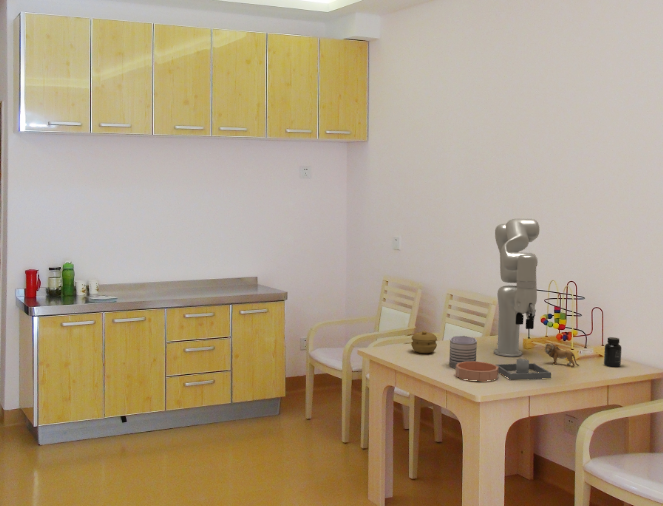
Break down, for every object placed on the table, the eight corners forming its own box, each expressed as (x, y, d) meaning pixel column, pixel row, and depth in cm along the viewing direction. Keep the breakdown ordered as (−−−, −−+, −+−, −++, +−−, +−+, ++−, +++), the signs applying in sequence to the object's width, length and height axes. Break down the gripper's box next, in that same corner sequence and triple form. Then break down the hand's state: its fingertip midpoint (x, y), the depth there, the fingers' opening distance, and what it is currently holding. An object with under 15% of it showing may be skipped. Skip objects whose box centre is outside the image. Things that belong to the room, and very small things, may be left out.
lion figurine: (543, 364, 325) (544, 344, 324) (545, 361, 330) (546, 341, 329) (578, 368, 319) (579, 347, 319) (579, 365, 324) (580, 345, 323)
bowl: (450, 371, 310) (450, 361, 309) (488, 370, 313) (488, 360, 312) (464, 382, 293) (464, 372, 293) (504, 381, 296) (504, 370, 296)
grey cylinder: (514, 373, 309) (514, 358, 309) (525, 372, 310) (525, 358, 310) (519, 376, 305) (519, 361, 304) (530, 375, 305) (531, 361, 305)
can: (479, 365, 322) (480, 338, 320) (470, 371, 312) (471, 342, 311) (454, 361, 327) (455, 334, 326) (444, 367, 318) (445, 339, 317)
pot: (441, 352, 345) (442, 331, 344) (426, 356, 336) (427, 334, 335) (421, 348, 353) (421, 327, 352) (405, 352, 344) (406, 330, 343)
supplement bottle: (619, 364, 327) (621, 337, 326) (621, 368, 321) (622, 340, 320) (603, 363, 329) (604, 336, 328) (604, 366, 323) (605, 339, 322)
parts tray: (494, 370, 314) (494, 364, 313) (534, 369, 317) (534, 363, 316) (509, 380, 298) (509, 374, 298) (550, 378, 301) (551, 372, 301)
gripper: (508, 282, 312) (507, 322, 313) (526, 288, 295) (524, 330, 296) (525, 282, 313) (524, 322, 314) (544, 287, 296) (542, 330, 297)
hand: (524, 326), depth 305 cm, fingers open, 9 cm apart
